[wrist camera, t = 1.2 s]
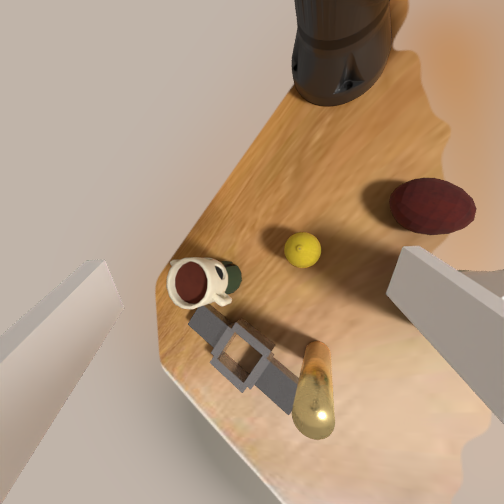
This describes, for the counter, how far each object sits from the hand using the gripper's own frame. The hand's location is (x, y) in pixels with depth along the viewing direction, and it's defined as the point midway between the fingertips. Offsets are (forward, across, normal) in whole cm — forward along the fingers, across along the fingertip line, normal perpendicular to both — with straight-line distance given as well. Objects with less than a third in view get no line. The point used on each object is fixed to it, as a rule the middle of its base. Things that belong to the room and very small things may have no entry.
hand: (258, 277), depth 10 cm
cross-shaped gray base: (+18, -1, -29) cm, 35 cm away
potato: (+22, +26, -5) cm, 35 cm away
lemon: (+24, +10, -13) cm, 29 cm away
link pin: (+15, +11, -27) cm, 32 cm away
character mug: (+27, -4, -19) cm, 33 cm away
